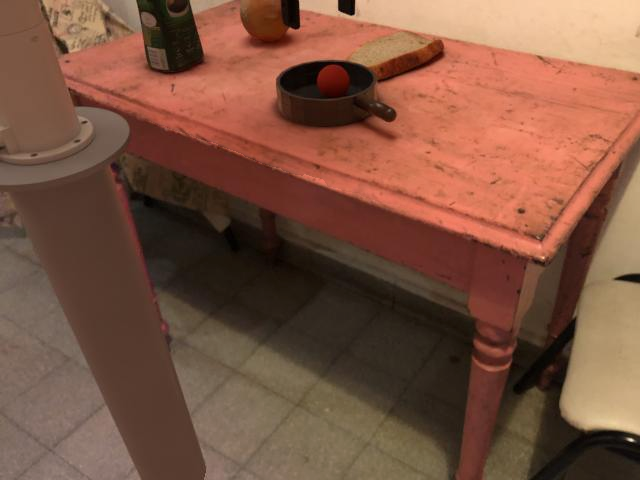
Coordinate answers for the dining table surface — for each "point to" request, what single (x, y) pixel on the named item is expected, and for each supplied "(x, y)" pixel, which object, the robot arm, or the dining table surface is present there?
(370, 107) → the pan handle
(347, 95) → the pan
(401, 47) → the bread slice
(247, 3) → the onion
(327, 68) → the ball
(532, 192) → the dining table surface
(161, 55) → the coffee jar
